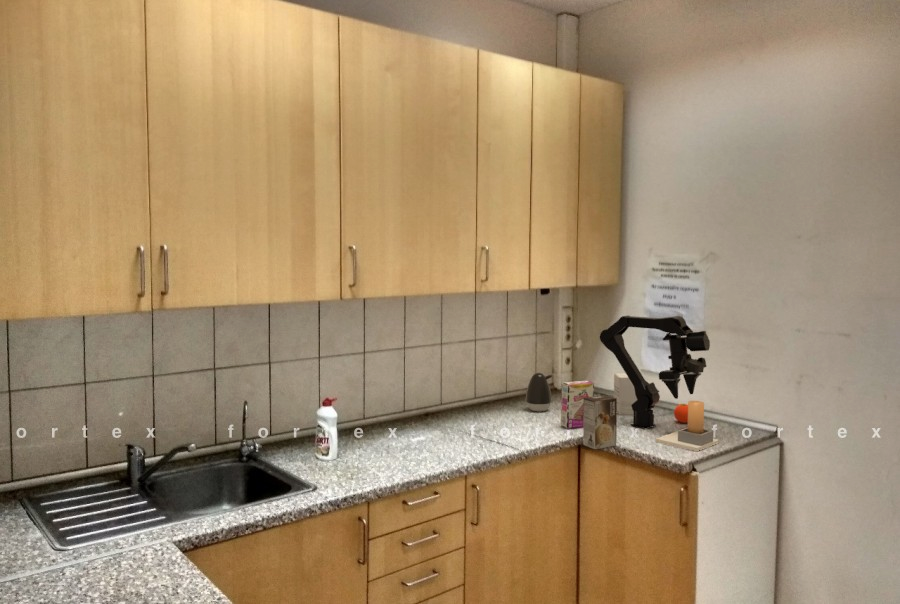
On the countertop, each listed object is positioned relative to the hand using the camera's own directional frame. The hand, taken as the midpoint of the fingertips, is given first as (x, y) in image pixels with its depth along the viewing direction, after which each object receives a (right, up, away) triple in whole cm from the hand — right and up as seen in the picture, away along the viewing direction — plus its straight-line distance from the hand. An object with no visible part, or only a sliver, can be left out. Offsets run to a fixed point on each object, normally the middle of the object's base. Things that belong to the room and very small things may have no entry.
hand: (684, 396), depth 252 cm
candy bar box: (-36, -13, +10) cm, 39 cm away
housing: (-3, -14, -11) cm, 18 cm away
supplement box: (-12, -11, +31) cm, 35 cm away
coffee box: (-33, -15, -14) cm, 38 cm away
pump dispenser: (-47, -10, +35) cm, 59 cm away
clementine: (+5, -12, +16) cm, 20 cm away
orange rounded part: (-1, -13, -14) cm, 19 cm away
